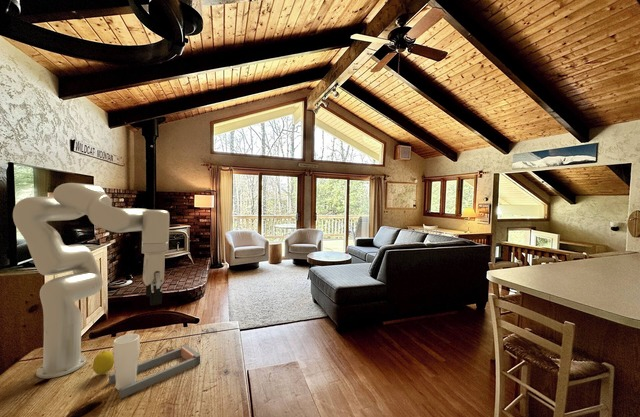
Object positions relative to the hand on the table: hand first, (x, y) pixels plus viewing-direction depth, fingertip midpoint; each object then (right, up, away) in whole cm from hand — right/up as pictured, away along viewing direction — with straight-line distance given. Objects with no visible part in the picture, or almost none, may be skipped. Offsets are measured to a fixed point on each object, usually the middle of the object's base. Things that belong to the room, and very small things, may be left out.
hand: (153, 299), depth 89 cm
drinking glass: (-7, -26, -3) cm, 27 cm away
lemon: (-18, -26, +2) cm, 32 cm away
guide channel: (-1, -26, +4) cm, 26 cm away
